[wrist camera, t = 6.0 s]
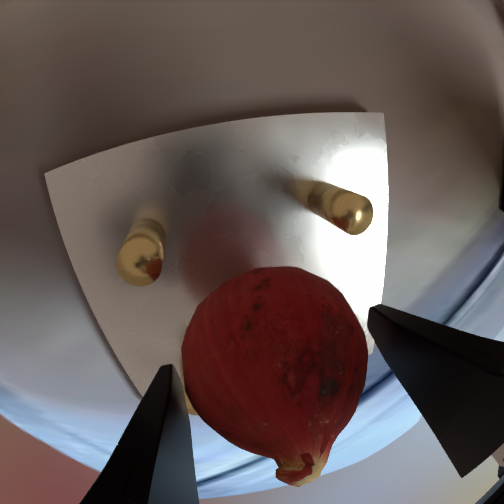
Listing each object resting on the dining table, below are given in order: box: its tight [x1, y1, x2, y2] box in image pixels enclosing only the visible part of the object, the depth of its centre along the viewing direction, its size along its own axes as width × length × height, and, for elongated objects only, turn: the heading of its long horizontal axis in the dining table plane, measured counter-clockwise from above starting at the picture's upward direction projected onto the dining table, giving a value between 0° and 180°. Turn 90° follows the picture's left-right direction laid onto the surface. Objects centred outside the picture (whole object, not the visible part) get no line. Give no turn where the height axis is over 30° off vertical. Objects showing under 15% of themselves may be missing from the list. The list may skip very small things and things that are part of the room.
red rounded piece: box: [181, 266, 368, 487], centre depth 8 cm, size 6×6×8 cm
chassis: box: [44, 112, 388, 415], centre depth 11 cm, size 14×14×4 cm
